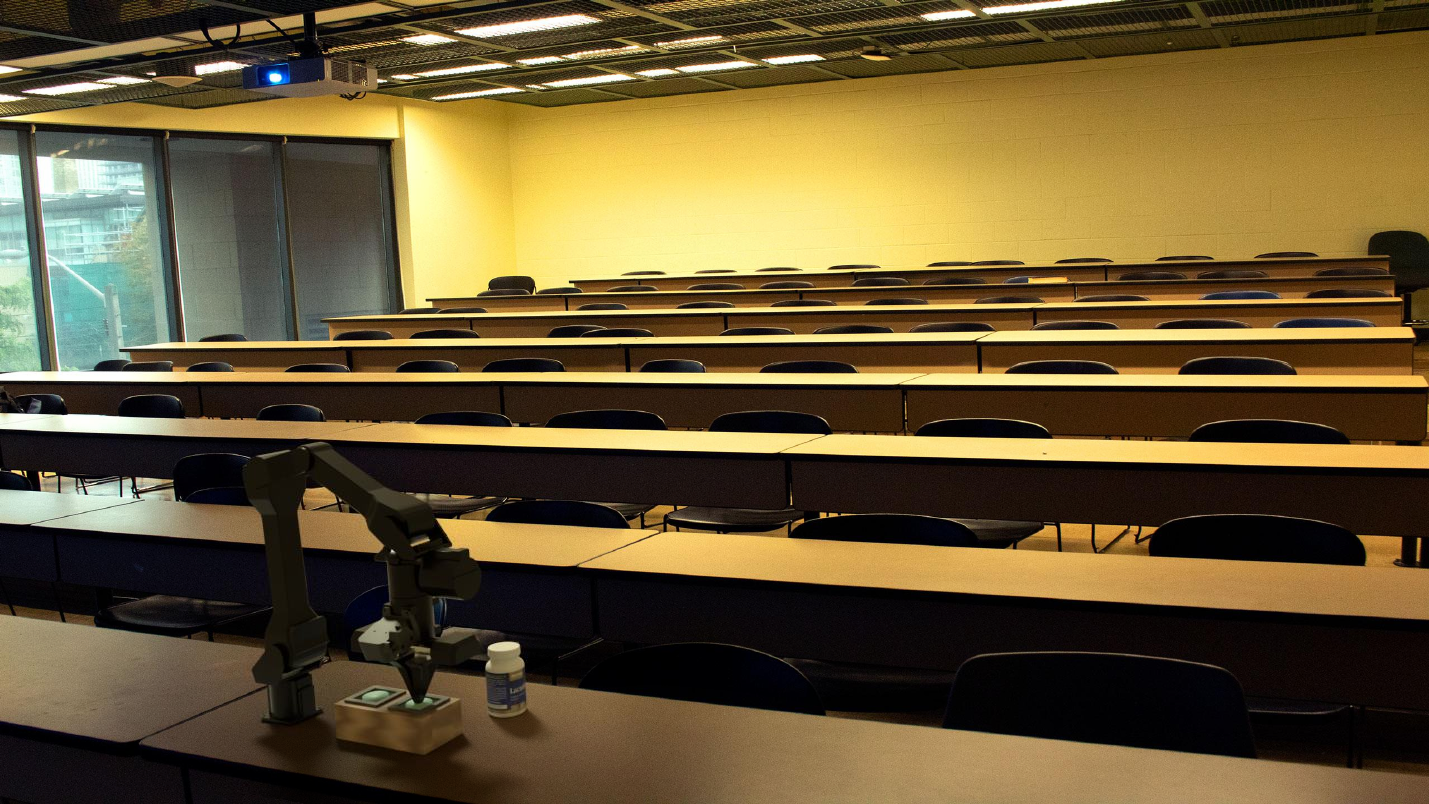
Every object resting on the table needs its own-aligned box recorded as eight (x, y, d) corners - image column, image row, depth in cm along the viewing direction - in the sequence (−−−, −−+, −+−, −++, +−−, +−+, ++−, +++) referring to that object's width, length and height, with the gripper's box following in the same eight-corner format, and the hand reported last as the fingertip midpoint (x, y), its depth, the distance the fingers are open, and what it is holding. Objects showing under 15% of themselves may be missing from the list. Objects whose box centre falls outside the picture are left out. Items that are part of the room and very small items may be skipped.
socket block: (336, 738, 159) (333, 701, 159) (377, 717, 166) (374, 682, 166) (424, 755, 152) (421, 716, 151) (462, 733, 159) (460, 696, 159)
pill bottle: (518, 719, 163) (514, 652, 162) (481, 718, 164) (477, 651, 163) (532, 704, 169) (528, 640, 168) (497, 703, 170) (492, 639, 169)
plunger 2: (402, 741, 157) (400, 705, 156) (420, 732, 160) (417, 696, 159) (422, 745, 155) (420, 708, 154) (440, 735, 158) (437, 699, 158)
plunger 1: (359, 733, 160) (356, 698, 160) (377, 724, 163) (375, 689, 163) (378, 737, 159) (376, 701, 158) (396, 727, 162) (394, 692, 161)
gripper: (316, 602, 152) (325, 714, 154) (423, 616, 144) (432, 733, 145) (375, 582, 162) (383, 687, 164) (479, 593, 154) (486, 703, 155)
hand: (418, 702), depth 157 cm, fingers closed, pressing on plunger 2
